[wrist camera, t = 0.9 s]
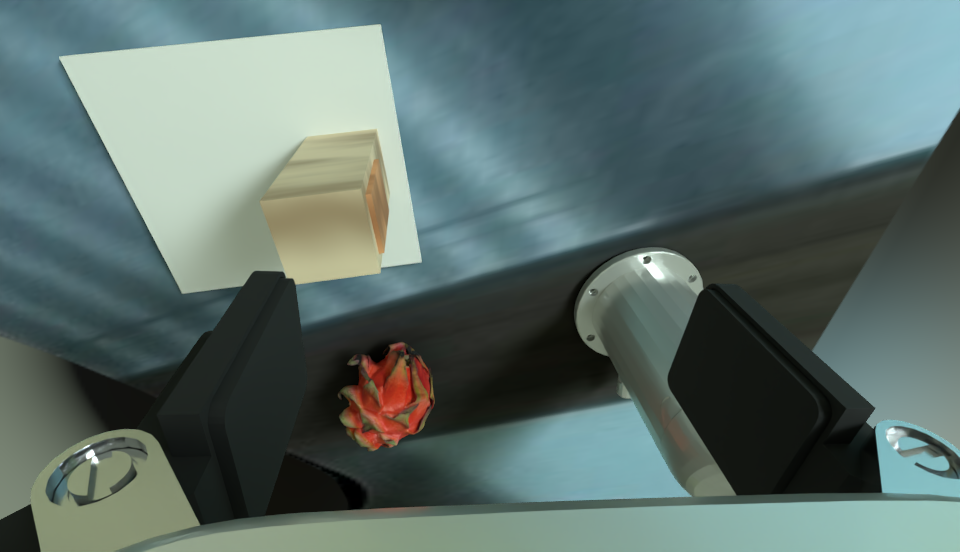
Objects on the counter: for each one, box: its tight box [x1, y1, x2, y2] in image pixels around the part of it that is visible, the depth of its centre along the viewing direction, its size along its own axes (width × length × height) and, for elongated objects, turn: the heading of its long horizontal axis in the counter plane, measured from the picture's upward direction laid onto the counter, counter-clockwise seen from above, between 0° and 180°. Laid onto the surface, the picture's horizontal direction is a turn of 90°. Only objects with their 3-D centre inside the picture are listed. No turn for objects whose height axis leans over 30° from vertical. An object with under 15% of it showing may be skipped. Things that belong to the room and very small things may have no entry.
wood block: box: [259, 129, 390, 284], centre depth 29 cm, size 5×5×12 cm
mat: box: [59, 24, 422, 294], centre depth 34 cm, size 18×20×1 cm
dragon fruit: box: [338, 342, 435, 451], centre depth 43 cm, size 8×8×12 cm
